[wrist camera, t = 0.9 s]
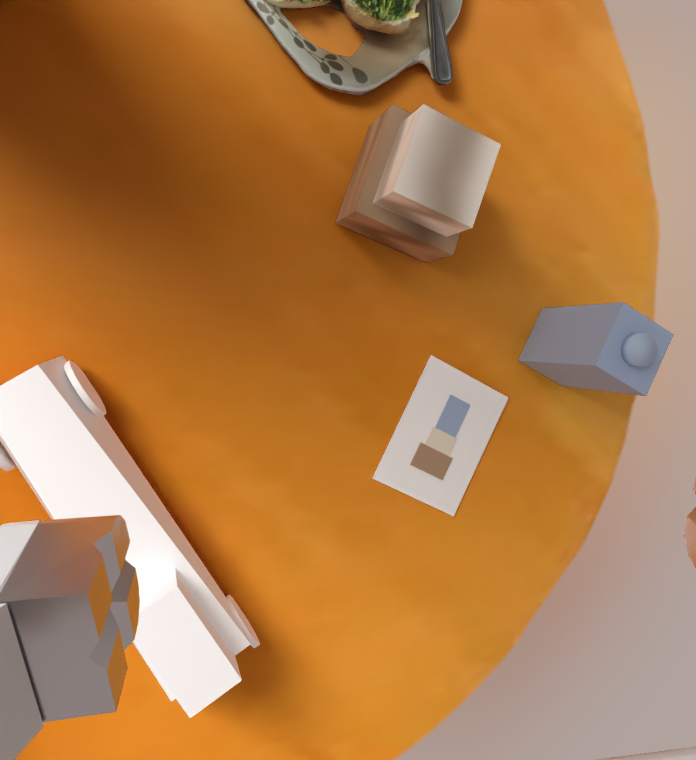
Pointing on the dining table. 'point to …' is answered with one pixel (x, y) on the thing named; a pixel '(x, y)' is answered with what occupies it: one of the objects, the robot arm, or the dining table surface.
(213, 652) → the toy truck
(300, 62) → the salad plate
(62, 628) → the robot arm
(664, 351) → the blue brick
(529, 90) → the dining table surface
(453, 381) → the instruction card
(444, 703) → the dining table surface
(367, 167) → the tower base
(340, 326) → the dining table surface
